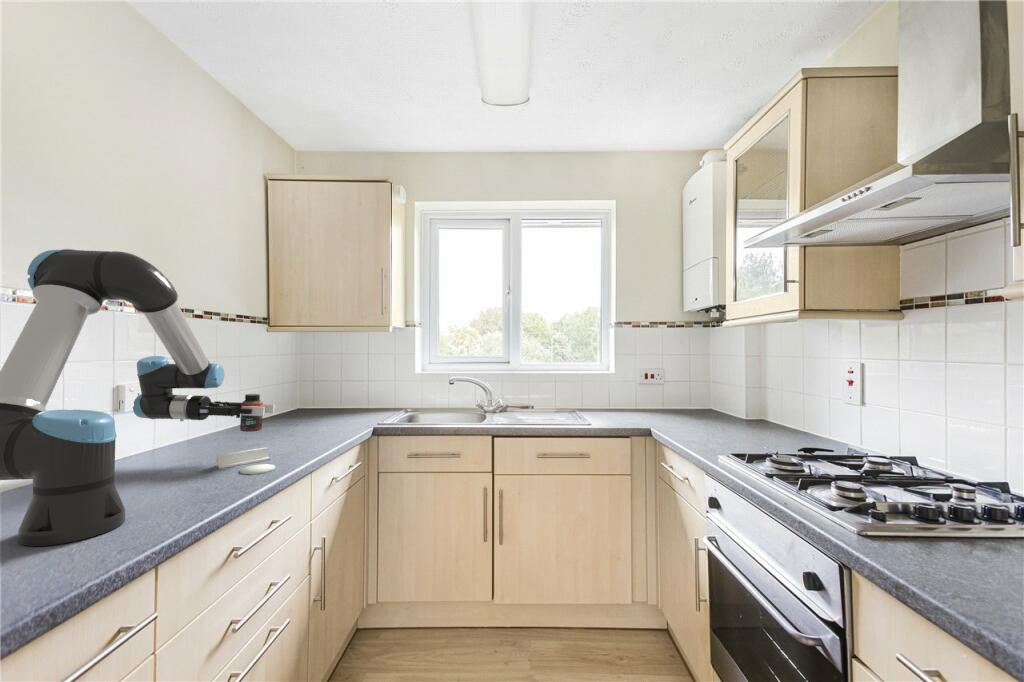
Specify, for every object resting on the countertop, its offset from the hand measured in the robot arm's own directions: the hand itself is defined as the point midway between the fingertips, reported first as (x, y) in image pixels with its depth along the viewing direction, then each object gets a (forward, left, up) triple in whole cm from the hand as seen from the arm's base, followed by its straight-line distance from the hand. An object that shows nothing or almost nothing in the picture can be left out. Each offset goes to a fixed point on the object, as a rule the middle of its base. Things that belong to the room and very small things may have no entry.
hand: (269, 410), depth 141 cm
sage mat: (-8, +6, -16) cm, 19 cm away
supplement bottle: (+4, +4, -7) cm, 9 cm away
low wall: (+4, +6, -16) cm, 18 cm away
